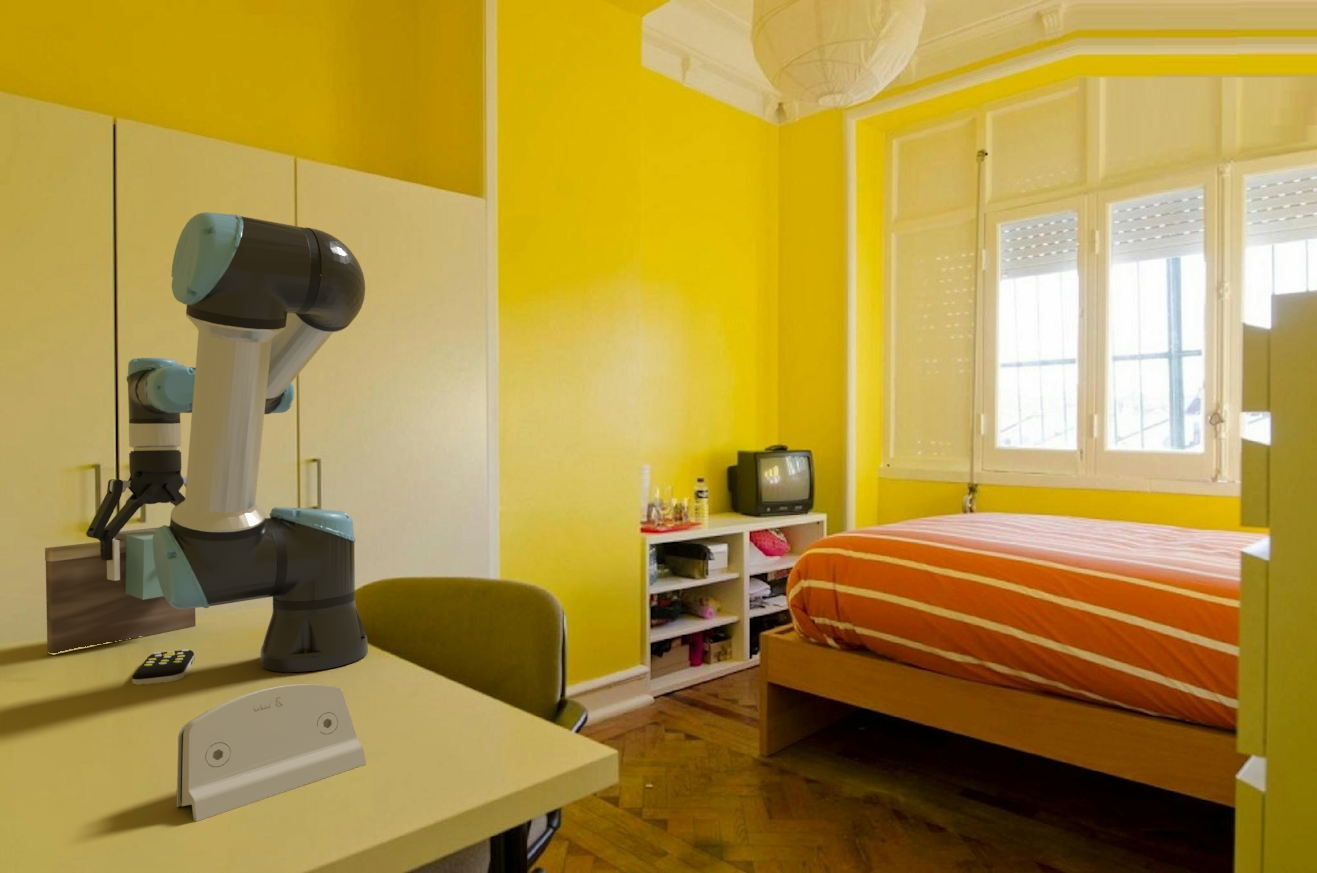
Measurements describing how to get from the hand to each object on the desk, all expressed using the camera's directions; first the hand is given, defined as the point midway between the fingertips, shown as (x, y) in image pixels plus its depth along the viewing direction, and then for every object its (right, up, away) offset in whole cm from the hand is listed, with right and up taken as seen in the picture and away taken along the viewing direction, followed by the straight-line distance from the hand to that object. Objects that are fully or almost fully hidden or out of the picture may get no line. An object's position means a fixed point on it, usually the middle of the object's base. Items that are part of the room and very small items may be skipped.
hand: (157, 573), depth 135 cm
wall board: (-5, -11, 0) cm, 12 cm away
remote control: (+13, -12, -19) cm, 26 cm away
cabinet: (-2, -3, +1) cm, 4 cm away
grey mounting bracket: (+47, -11, -56) cm, 74 cm away
